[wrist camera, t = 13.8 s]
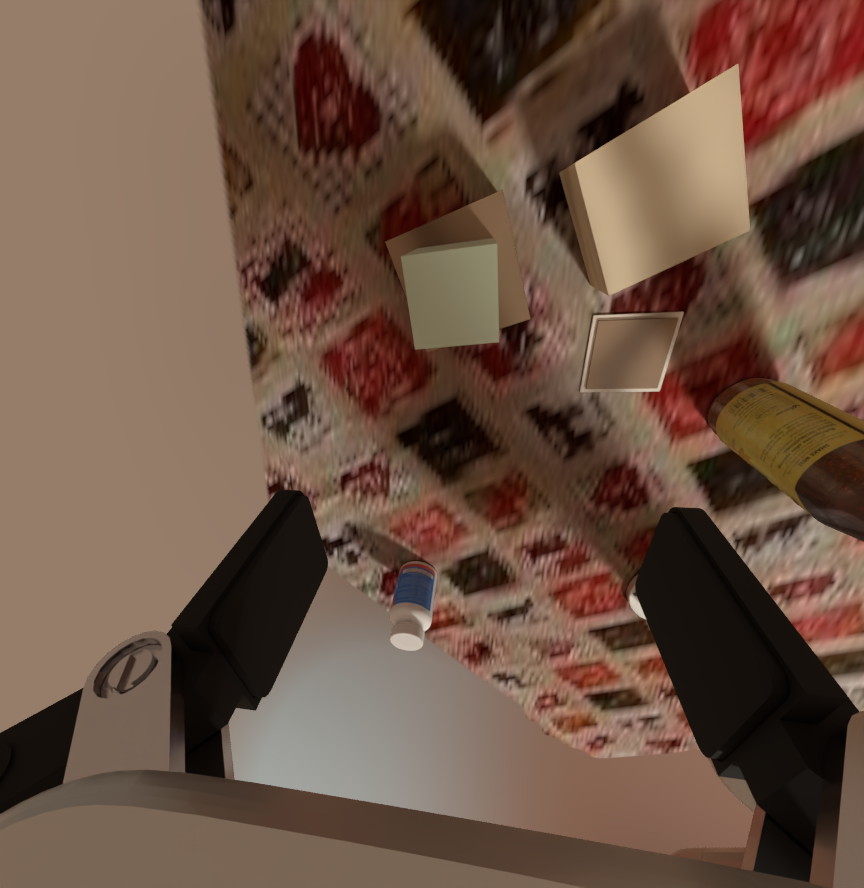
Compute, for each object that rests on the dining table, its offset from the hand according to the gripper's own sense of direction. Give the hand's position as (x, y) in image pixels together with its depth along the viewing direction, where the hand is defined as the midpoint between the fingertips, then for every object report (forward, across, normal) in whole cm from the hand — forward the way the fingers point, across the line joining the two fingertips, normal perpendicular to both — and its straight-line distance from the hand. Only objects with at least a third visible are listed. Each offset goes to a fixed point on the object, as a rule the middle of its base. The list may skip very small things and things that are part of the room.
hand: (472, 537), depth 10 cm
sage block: (+20, +2, -4) cm, 20 cm away
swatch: (+24, -12, +3) cm, 28 cm away
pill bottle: (+25, +8, +34) cm, 43 cm away
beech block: (+25, -10, -8) cm, 28 cm away
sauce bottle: (+25, -24, +8) cm, 35 cm away
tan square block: (+25, +2, -4) cm, 25 cm away
